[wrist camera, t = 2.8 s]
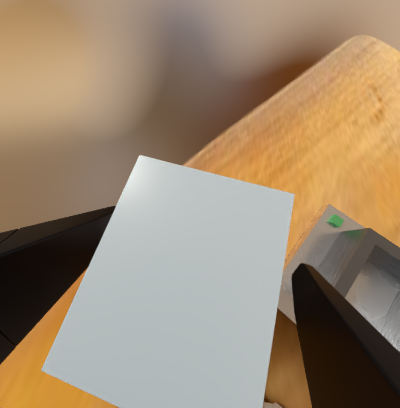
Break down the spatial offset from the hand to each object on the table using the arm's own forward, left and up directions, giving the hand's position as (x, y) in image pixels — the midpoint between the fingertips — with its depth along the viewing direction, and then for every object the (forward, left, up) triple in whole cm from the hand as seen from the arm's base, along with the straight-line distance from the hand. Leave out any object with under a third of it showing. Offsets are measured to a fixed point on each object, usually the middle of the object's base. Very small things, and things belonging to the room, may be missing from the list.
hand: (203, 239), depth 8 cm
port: (+4, -12, -7) cm, 14 cm away
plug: (-1, 0, -7) cm, 7 cm away
